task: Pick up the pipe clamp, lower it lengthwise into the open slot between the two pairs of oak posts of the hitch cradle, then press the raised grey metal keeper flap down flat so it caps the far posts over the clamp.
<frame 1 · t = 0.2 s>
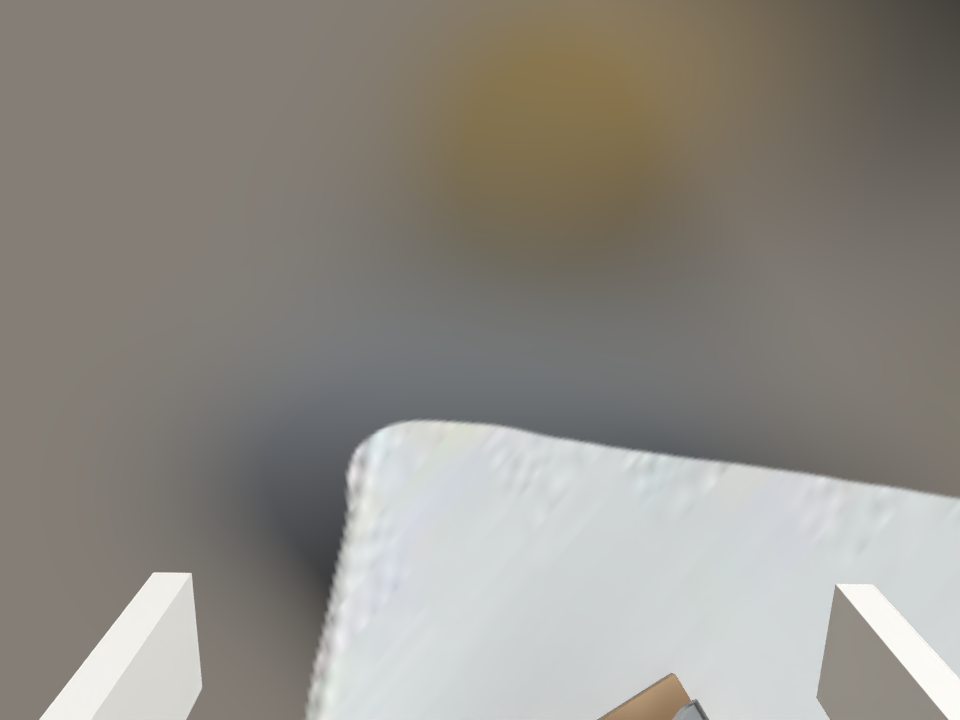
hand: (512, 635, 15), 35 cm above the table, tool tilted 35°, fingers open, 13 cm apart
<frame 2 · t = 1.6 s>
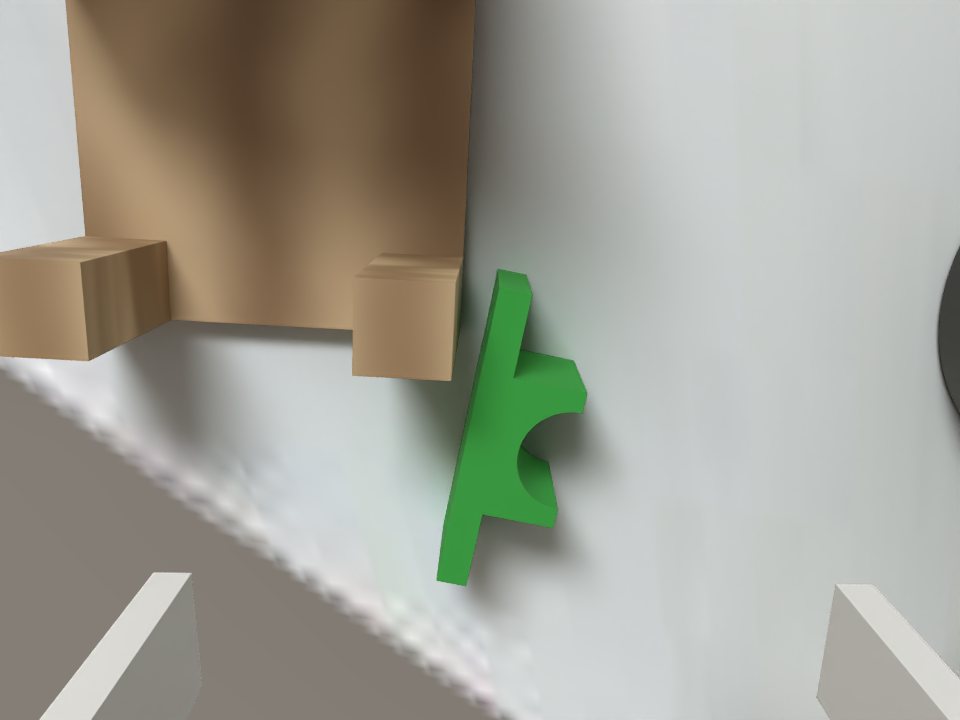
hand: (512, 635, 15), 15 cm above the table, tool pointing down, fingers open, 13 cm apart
pipe clamp: (510, 410, 31), on the table
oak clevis: (279, 120, 27), on the table
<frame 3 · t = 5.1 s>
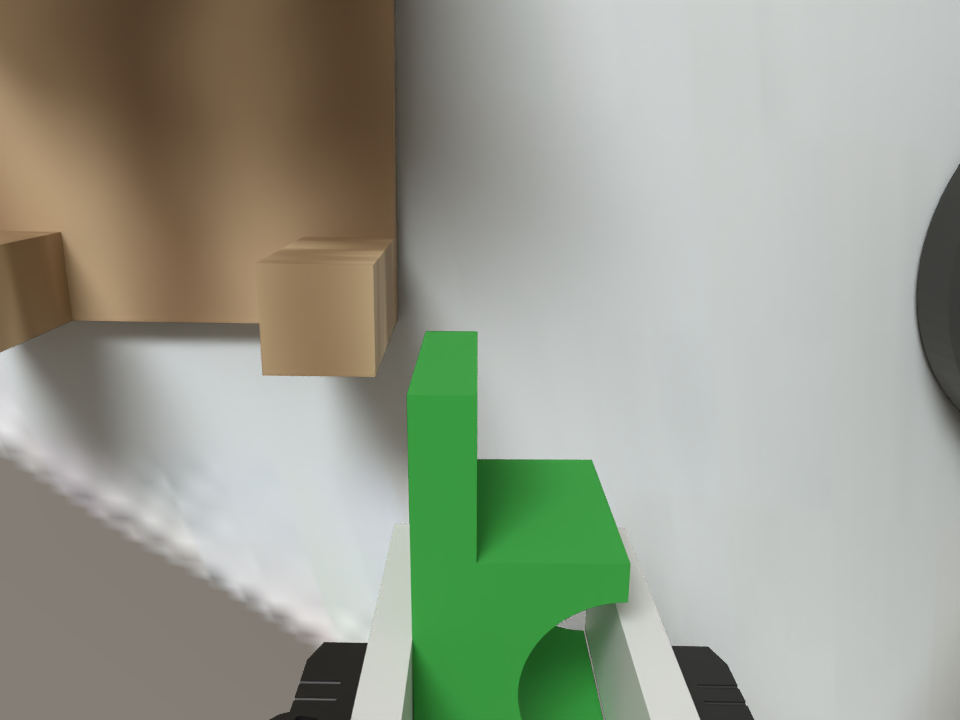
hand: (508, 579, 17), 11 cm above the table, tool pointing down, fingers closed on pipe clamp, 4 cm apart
pipe clamp: (502, 560, 18), point 10 cm above the table, touching gripper
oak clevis: (181, 92, 24), on the table
when the fingers open (2 cm above the table, at t = 8.2 s): pipe clamp stays where it is, resting on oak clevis.
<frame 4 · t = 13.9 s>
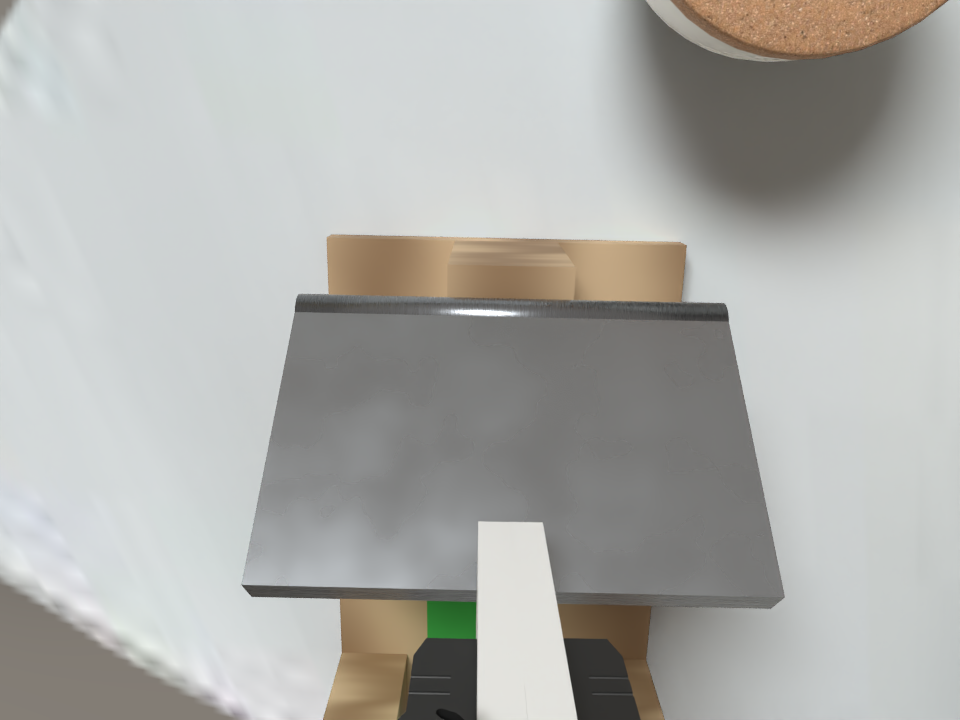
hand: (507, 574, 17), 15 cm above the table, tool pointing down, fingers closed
keeper flap: (511, 431, 21), point 11 cm above the table, hinge at 49.5°, touching gripper
pipe clamp: (474, 563, 33), point 1 cm above the table, touching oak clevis
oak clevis: (496, 557, 34), on the table
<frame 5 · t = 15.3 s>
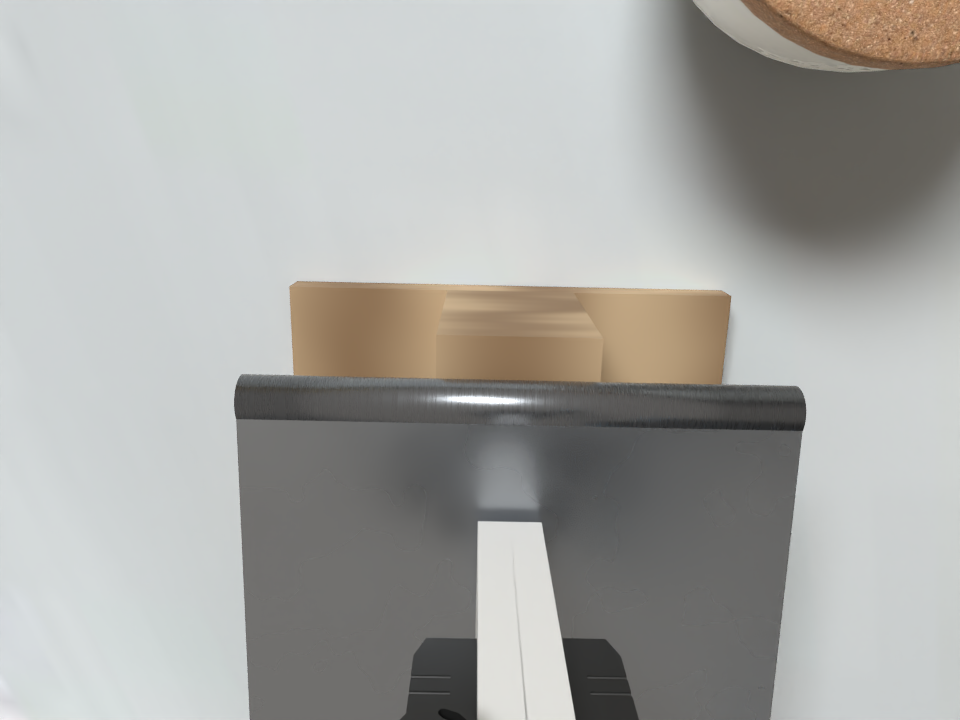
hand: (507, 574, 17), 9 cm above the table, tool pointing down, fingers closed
keeper flap: (513, 561, 18), point 8 cm above the table, hinge at 4.2°, touching gripper
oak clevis: (497, 661, 28), on the table
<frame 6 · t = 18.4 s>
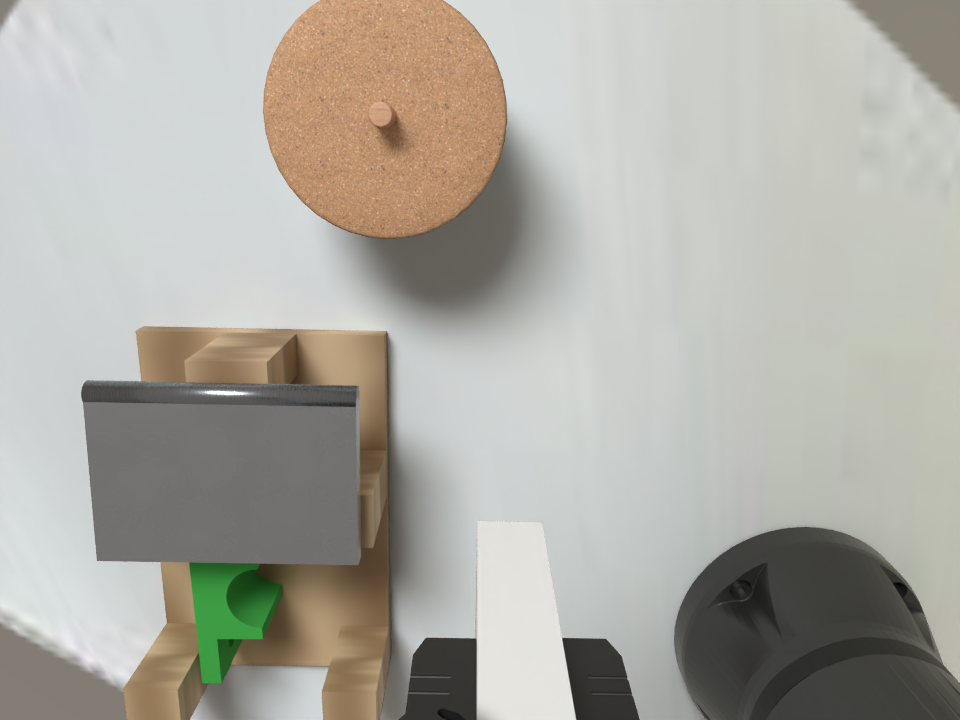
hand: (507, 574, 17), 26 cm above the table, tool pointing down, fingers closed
keeper flap: (226, 472, 37), point 8 cm above the table, hinge at 4.1°
lidded jar: (402, 123, 40), on the table
pipe clamp: (248, 556, 46), point 1 cm above the table, touching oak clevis
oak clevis: (278, 553, 47), on the table
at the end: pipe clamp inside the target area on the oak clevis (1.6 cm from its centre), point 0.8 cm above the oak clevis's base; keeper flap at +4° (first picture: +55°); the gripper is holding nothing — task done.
